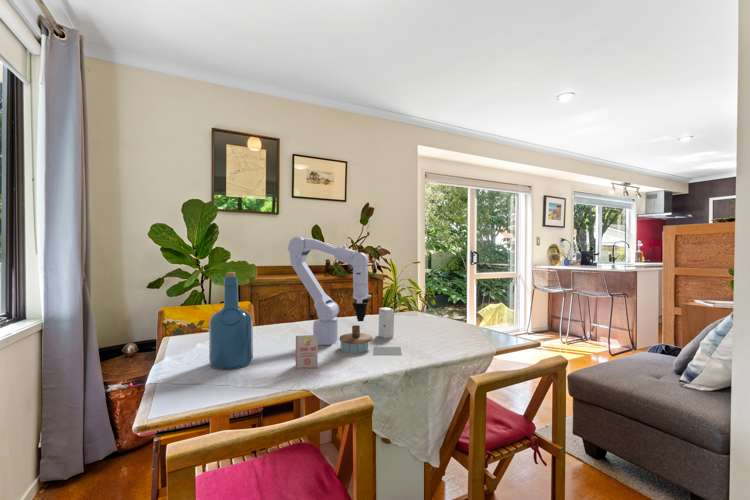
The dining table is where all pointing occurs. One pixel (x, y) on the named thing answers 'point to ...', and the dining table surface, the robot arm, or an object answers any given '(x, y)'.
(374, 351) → the mat
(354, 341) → the lid
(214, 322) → the wine bottle
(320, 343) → the robot arm
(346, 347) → the bowl
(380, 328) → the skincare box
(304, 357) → the beige printed carton
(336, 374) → the dining table surface
